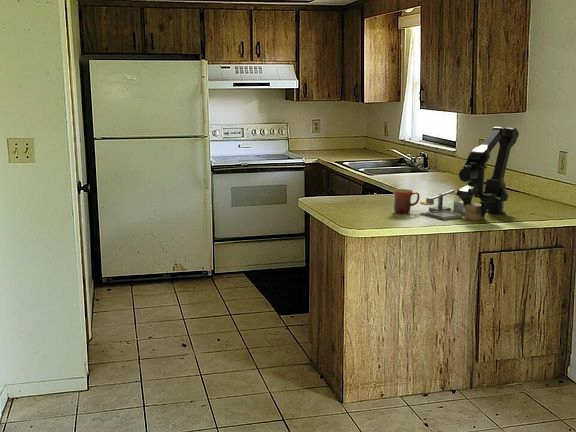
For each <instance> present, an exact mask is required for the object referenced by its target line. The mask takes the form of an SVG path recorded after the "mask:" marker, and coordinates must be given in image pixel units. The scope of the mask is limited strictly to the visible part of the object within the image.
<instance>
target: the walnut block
mask: <svg viewBox="0 0 576 432" xmlns="http://www.w3.org/2000/svg"><path fill="white" fill-rule="evenodd" d="M485 217H486V214H485V215H484V216H483V217H482V216H481V203H475V202H474V203H471V204H465V213H464V218H465V219H469V220H473V221H478V220H484V219H486V218H485Z"/></svg>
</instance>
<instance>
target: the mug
mask: <svg viewBox="0 0 576 432" xmlns="http://www.w3.org/2000/svg"><path fill="white" fill-rule="evenodd" d="M392 191H393V192H392V193H393V197H394V199H393V200H394V201H393V211H394V213H395V214H398V215H407V214H409V213H411V207H413V206H415V205H417V204H418V203H419V202H420V197H421V196H420V193H419V192H417V191H413V190H412V189H407V188H395V189H393V190H392ZM414 195H416V201H415V202H413V203H412V202H411V201H412V196H414Z"/></svg>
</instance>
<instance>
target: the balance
mask: <svg viewBox="0 0 576 432" xmlns="http://www.w3.org/2000/svg"><path fill="white" fill-rule="evenodd" d="M457 191H458V190H455V189H452V190H447V191H446V192H444V193H439V194H437V195H436V196H433V197H431V196H430V197H426V198H425V199H426V200H422V201H419V204H420V205H423V206H429V207H428V211H429V212H435V211H443V210H446V211H450V212H452V208H451V207H449V206H446V205H443V201H444V196H448V195H452V196H453V195H456V196H457ZM436 199H437V206H435V200H436ZM432 205H433V206H432ZM431 206H432V207H431Z"/></svg>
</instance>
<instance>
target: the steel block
mask: <svg viewBox="0 0 576 432" xmlns="http://www.w3.org/2000/svg"><path fill="white" fill-rule="evenodd" d="M452 212H454V213H458V214H462V215H465V206H464V203H463V201H462V199H459V200H455V201H453V211H452Z"/></svg>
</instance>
